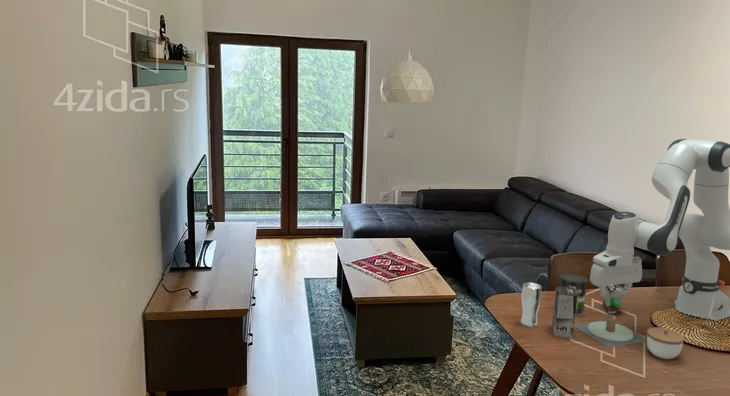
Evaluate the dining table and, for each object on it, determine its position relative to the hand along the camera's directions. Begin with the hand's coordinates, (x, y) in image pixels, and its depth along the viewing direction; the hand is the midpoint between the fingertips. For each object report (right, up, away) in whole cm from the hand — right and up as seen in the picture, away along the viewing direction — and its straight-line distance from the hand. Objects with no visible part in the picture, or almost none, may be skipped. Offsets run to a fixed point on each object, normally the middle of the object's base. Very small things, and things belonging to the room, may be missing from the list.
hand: (613, 295), depth 188 cm
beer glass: (-27, -13, +11) cm, 32 cm away
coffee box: (-17, -14, +4) cm, 23 cm away
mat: (0, -15, +3) cm, 15 cm away
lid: (0, -14, +3) cm, 14 cm away
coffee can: (-7, -11, +23) cm, 26 cm away
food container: (+11, -11, +23) cm, 28 cm away
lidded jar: (+11, -18, -12) cm, 24 cm away
